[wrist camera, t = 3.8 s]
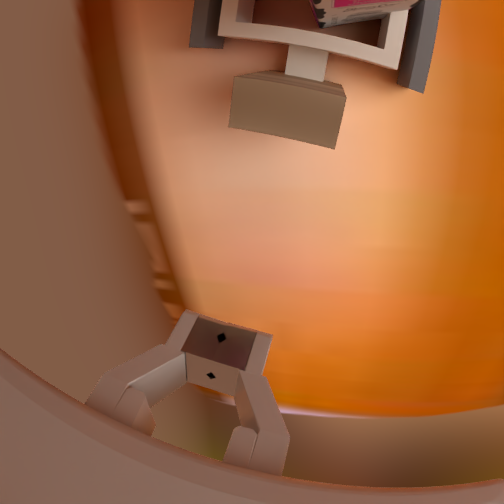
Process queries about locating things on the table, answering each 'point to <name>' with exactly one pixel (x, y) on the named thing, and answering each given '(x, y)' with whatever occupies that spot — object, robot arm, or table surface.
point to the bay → (414, 51)
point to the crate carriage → (300, 76)
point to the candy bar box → (355, 10)
